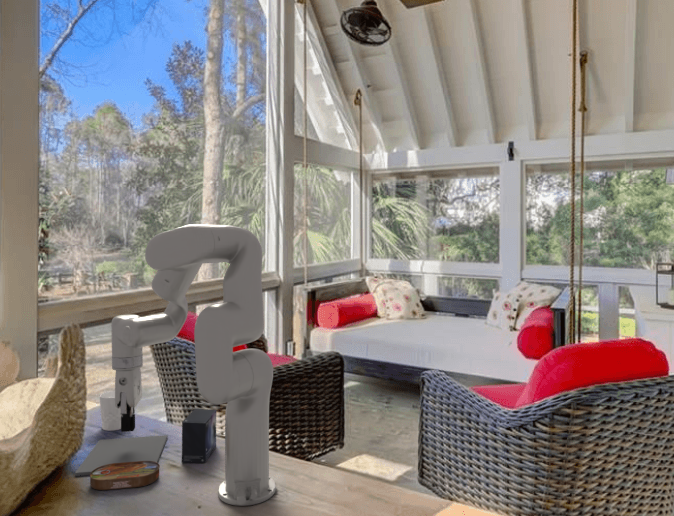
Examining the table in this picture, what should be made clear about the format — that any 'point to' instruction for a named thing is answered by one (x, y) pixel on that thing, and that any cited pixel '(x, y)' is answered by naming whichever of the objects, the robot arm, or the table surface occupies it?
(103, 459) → the mat
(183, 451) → the small box
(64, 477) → the table surface
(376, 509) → the table surface
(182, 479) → the table surface
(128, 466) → the tin
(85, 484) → the table surface
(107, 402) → the white cup
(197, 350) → the robot arm
